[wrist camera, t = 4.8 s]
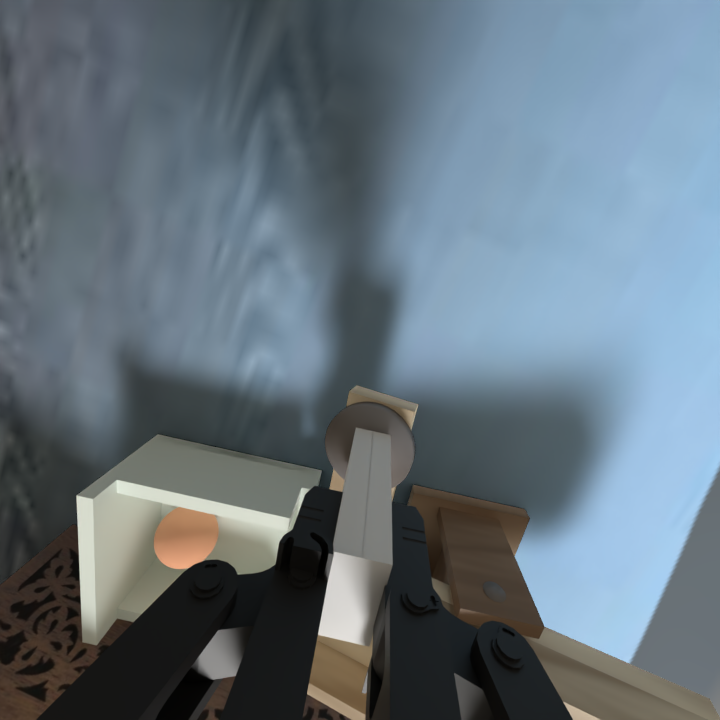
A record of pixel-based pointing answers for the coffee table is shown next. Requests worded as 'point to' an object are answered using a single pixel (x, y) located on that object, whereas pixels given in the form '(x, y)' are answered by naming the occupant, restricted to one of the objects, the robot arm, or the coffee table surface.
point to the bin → (158, 498)
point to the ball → (185, 537)
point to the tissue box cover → (65, 637)
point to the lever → (555, 651)
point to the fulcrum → (478, 557)
